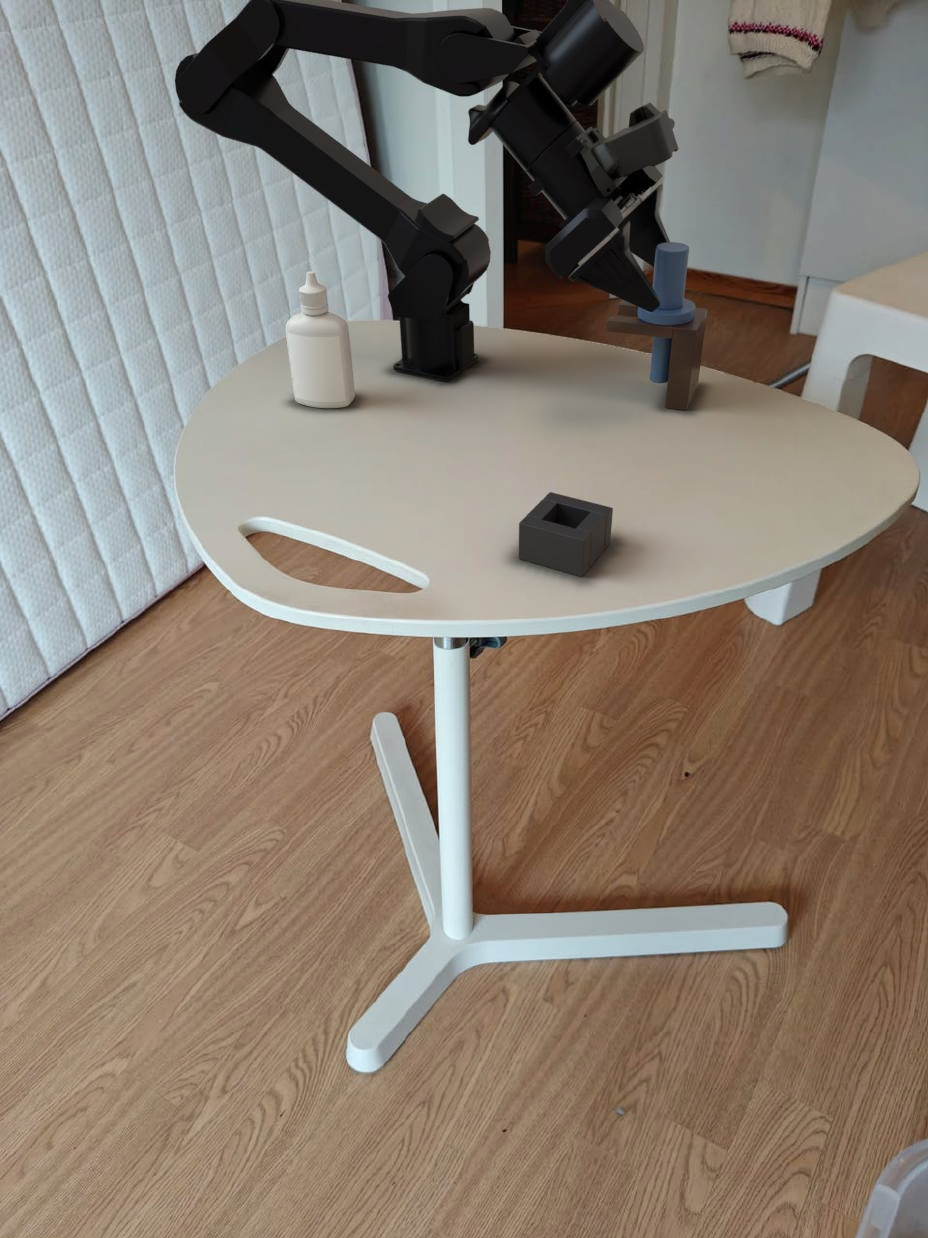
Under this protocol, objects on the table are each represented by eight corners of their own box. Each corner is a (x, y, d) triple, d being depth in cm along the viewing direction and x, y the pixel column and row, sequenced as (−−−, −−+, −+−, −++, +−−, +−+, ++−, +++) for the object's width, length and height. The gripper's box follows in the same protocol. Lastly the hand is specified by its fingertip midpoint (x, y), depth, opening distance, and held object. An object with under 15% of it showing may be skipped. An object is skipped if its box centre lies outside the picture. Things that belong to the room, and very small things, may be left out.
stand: (601, 399, 91) (606, 320, 87) (616, 376, 95) (621, 299, 91) (686, 410, 89) (696, 329, 84) (697, 386, 93) (707, 308, 88)
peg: (649, 394, 88) (662, 258, 81) (622, 374, 92) (632, 242, 85) (697, 384, 90) (714, 250, 82) (668, 365, 93) (682, 235, 86)
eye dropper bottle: (327, 417, 90) (312, 285, 82) (288, 400, 93) (270, 272, 85) (362, 401, 92) (350, 272, 85) (323, 385, 95) (308, 260, 88)
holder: (518, 558, 70) (518, 522, 68) (548, 526, 73) (549, 491, 72) (582, 577, 68) (584, 540, 66) (610, 543, 71) (613, 507, 70)
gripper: (592, 92, 71) (725, 262, 74) (648, 56, 85) (758, 200, 88) (489, 199, 78) (615, 350, 81) (557, 150, 92) (662, 280, 95)
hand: (667, 290), depth 86 cm, fingers open, 9 cm apart
